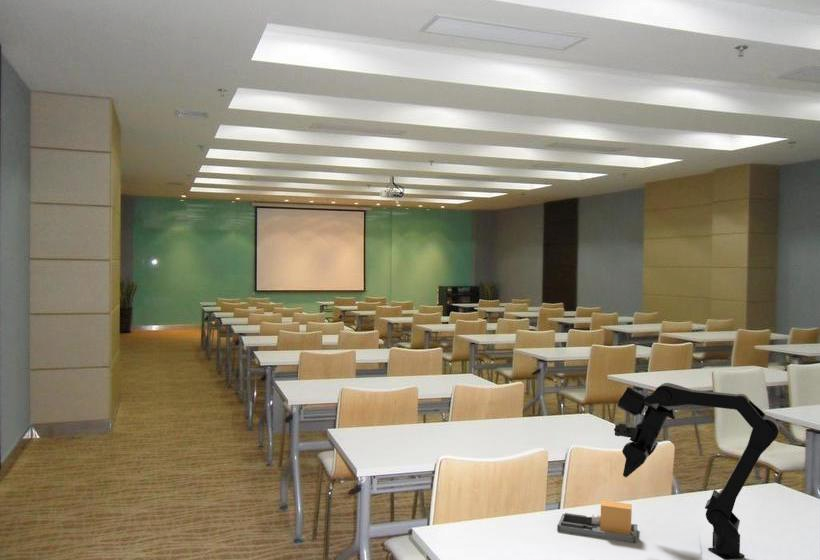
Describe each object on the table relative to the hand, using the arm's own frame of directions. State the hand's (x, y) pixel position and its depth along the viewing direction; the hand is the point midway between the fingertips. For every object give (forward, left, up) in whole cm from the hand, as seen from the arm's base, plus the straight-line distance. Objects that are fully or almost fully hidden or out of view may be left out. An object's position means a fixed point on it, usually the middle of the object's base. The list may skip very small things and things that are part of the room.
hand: (628, 472), depth 189 cm
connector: (-1, +5, -16) cm, 17 cm away
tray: (+2, +9, -17) cm, 20 cm away
